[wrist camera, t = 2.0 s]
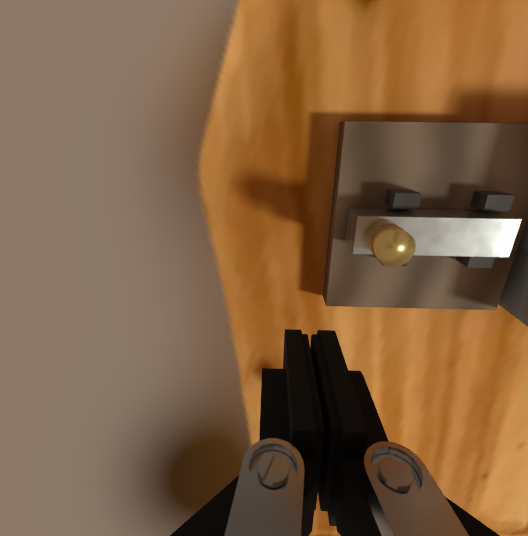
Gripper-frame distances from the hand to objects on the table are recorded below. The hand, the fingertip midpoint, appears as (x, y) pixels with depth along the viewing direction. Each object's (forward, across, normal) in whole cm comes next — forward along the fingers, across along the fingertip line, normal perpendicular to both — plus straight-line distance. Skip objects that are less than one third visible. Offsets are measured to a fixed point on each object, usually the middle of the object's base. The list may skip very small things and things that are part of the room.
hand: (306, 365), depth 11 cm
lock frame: (+20, -17, 0) cm, 26 cm away
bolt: (+18, -11, 0) cm, 21 cm away
